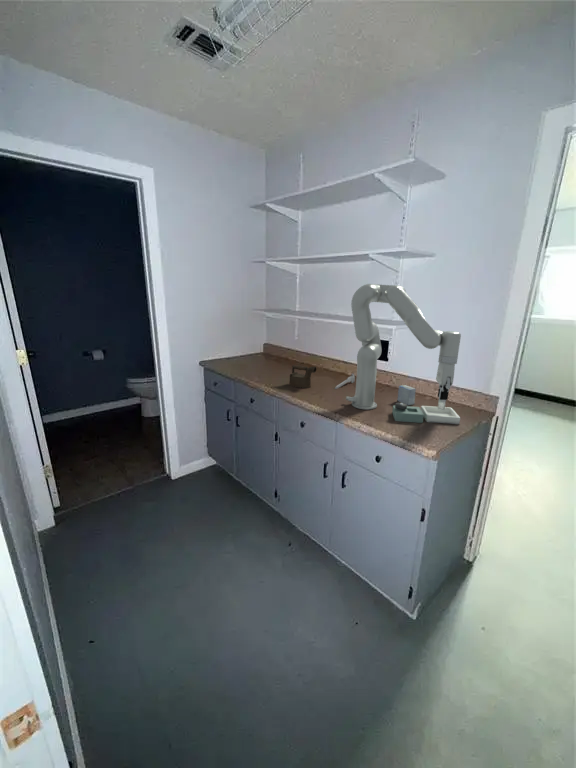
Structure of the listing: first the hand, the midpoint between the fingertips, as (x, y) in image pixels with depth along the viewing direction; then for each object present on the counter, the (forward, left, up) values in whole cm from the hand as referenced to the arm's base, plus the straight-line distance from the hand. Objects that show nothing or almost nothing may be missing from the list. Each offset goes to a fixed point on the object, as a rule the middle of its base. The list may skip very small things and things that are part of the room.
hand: (442, 398), depth 153 cm
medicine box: (-12, +19, -10) cm, 25 cm away
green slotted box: (-15, -3, -10) cm, 18 cm away
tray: (0, 0, -10) cm, 10 cm away
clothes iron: (-70, +38, -10) cm, 80 cm away
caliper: (-44, +45, -10) cm, 64 cm away
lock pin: (0, 0, -5) cm, 5 cm away
